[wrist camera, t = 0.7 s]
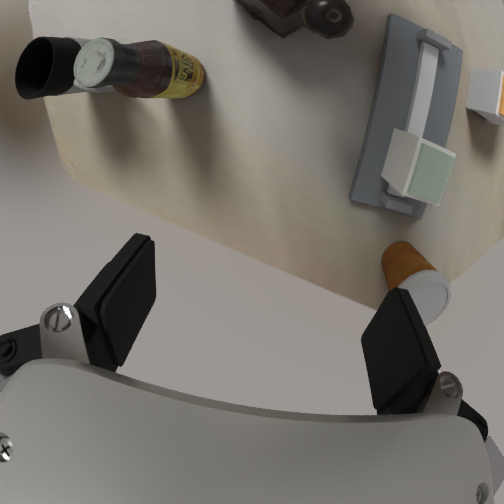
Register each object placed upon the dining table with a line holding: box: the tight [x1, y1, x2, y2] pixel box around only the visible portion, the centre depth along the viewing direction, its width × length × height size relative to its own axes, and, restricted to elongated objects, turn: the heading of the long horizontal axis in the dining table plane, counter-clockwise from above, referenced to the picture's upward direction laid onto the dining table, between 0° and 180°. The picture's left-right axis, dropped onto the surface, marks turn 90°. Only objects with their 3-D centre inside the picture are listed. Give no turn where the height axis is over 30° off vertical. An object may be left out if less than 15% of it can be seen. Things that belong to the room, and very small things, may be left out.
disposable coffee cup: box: [382, 241, 451, 325], centre depth 36 cm, size 10×10×12 cm
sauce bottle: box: [74, 38, 205, 98], centre depth 22 cm, size 6×6×20 cm
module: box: [466, 69, 504, 127], centre depth 21 cm, size 7×6×8 cm
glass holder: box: [15, 37, 121, 99], centre depth 23 cm, size 9×14×15 cm, turn 57°
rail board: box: [349, 14, 463, 219], centre depth 25 cm, size 28×12×10 cm, turn 171°
